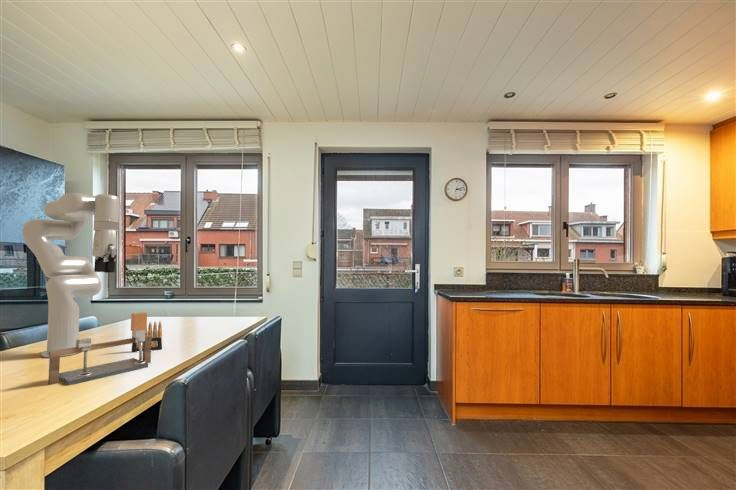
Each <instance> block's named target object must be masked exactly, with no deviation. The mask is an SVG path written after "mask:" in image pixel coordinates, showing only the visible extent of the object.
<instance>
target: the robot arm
mask: <svg viewBox="0 0 736 490" xmlns="http://www.w3.org/2000/svg"><path fill="white" fill-rule="evenodd" d="M43 212H44V214H45V215H46V216H47V217H48V218H50V219H42V218H41V219H40V218H39V219H37V218H36V219H31V220H28V221H26V222H25V223H24V224H23V226H22V238H23V242H24V243H25V245H26V246H27V248H29V250H30V251H31V252H32V254H34V256H35V257H36V260H37V262H38V265H39V267H40V268H41V271H42V272H43V274H44V276H45V277H46V278H49V279H48V280H47V282H46V285H45V288H46V289H45V290H46V294H47V300H48V301H47V303H48V309H47V310H48V312H47V332H46V333H47V334H46V337H47V338H46V350H44V351H43V352H41V353H40V356H41V357H42V358H50V357H49V351H55V350H61V349H67V348H74V347H76V339H79V334H80V307H79V304H78V303H77V302H76V300H74V299H77V298H86V297H87V298H88V297H93V296H96V295H98V294H99V293H100V291H101V289H102V282H101V279H100V277H99V275H98V273H115V272H116V260H117V259H116V257H117V256H116V255H117V244H118V243H117V242H118V241H117V232H119V220H120V198H119V197H118V196H117V195H113V194H106V193H105V194H104V193H102V194H97V195H93V194H92V195H91V194H85V193H79V192H78V193H77V192H71V193H65V194H64V193H63V194H62V195H61V196H60V197H59V198H58V199H54V200H51V201H49V202H47V203H46V204H44V207H43ZM91 215H92V216H93V231H94V233H93V241H92V252H91V253H92V254H91V255H92V256H93V257H94V266H93V264H92V263H91V260H89V259H88V258H87V257H84V256H77V255H76V256H70V255H66V254H64V252H63V249H62V248H61V247H60V246H59V245H58V244H56V243H55V242H53V241H55V240H56V241H71V240H74V239H76V238H77V237H78V236H79V234H80V233H81V230H82V229H83V228H84V226H85V224H86V223H87V221H88V219H89V217H90V216H91ZM51 240H53V241H51ZM80 353H81V352H79V353H73V354H67V355H61V356H60V358H62V357H68V356H71V355H72V356H73V355H76V354H80Z"/></svg>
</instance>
